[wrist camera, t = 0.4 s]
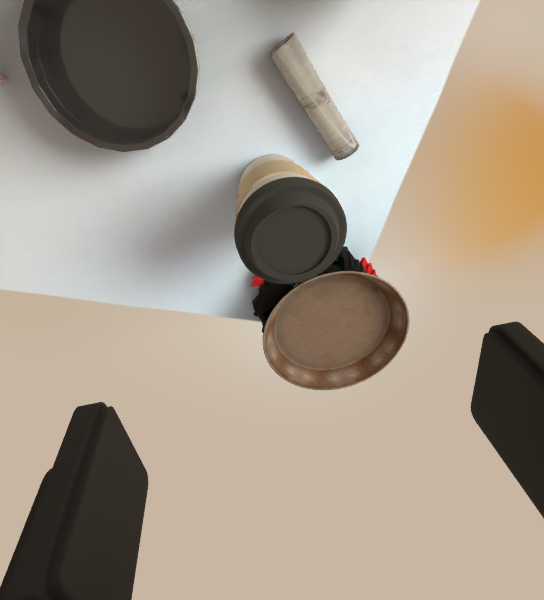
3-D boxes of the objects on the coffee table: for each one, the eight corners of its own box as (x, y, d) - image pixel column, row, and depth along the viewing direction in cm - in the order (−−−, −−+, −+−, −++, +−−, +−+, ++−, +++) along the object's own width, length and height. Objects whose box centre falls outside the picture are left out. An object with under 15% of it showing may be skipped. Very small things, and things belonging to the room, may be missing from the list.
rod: (266, 53, 36) (270, 54, 34) (291, 31, 36) (296, 31, 33) (333, 158, 42) (340, 165, 40) (355, 141, 42) (363, 147, 39)
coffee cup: (323, 207, 45) (366, 271, 32) (249, 238, 46) (262, 312, 33) (296, 127, 40) (335, 166, 28) (214, 164, 41) (215, 217, 28)
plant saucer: (395, 241, 45) (405, 253, 42) (405, 355, 54) (414, 370, 52) (243, 283, 46) (244, 298, 43) (280, 387, 56) (283, 404, 53)
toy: (399, 271, 51) (409, 283, 48) (332, 359, 58) (337, 373, 55) (285, 215, 45) (290, 225, 42) (225, 320, 52) (226, 334, 49)
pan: (12, -26, 31) (-15, -36, 28) (181, -44, 32) (177, -55, 28) (74, 149, 39) (59, 160, 35) (210, 131, 39) (210, 141, 36)
